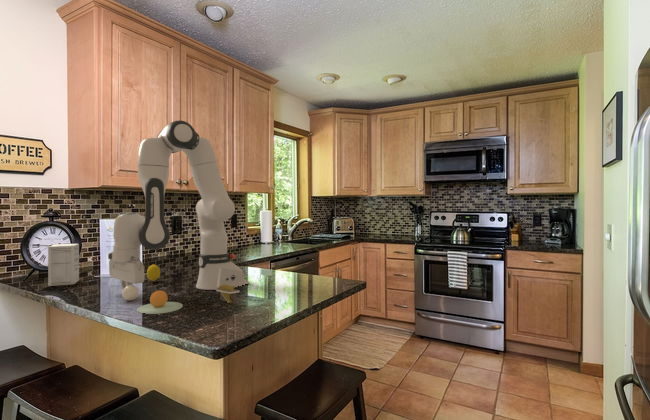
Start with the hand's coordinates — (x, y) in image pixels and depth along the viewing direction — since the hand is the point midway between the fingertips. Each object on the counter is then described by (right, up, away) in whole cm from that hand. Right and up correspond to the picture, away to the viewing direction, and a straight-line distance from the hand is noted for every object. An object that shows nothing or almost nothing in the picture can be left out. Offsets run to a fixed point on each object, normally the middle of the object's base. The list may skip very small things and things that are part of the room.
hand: (126, 292), depth 133 cm
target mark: (+19, -2, -14) cm, 24 cm away
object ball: (+18, +1, -13) cm, 23 cm away
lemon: (-3, -2, +26) cm, 27 cm away
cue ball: (+5, +1, -5) cm, 7 cm away
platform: (+39, -3, -6) cm, 40 cm away
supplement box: (-39, -1, +21) cm, 44 cm away
